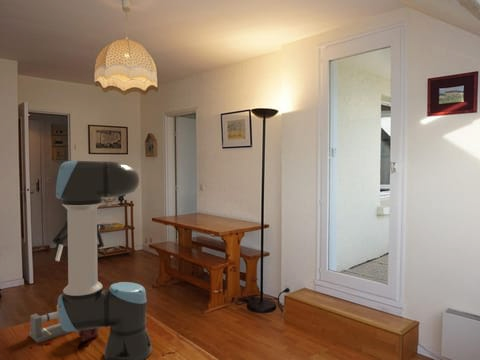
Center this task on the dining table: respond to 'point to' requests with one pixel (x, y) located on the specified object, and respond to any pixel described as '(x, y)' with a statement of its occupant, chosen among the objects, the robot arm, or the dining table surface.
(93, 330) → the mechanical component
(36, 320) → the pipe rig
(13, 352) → the dining table surface
